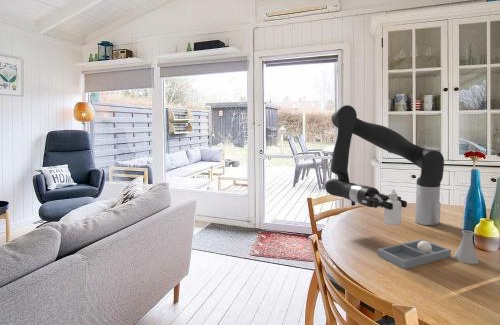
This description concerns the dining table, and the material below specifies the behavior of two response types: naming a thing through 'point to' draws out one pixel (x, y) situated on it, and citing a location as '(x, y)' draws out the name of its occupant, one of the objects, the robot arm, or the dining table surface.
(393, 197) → the eye dropper bottle
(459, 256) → the flask
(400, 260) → the holder
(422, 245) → the ceramic egg
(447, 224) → the dining table surface
